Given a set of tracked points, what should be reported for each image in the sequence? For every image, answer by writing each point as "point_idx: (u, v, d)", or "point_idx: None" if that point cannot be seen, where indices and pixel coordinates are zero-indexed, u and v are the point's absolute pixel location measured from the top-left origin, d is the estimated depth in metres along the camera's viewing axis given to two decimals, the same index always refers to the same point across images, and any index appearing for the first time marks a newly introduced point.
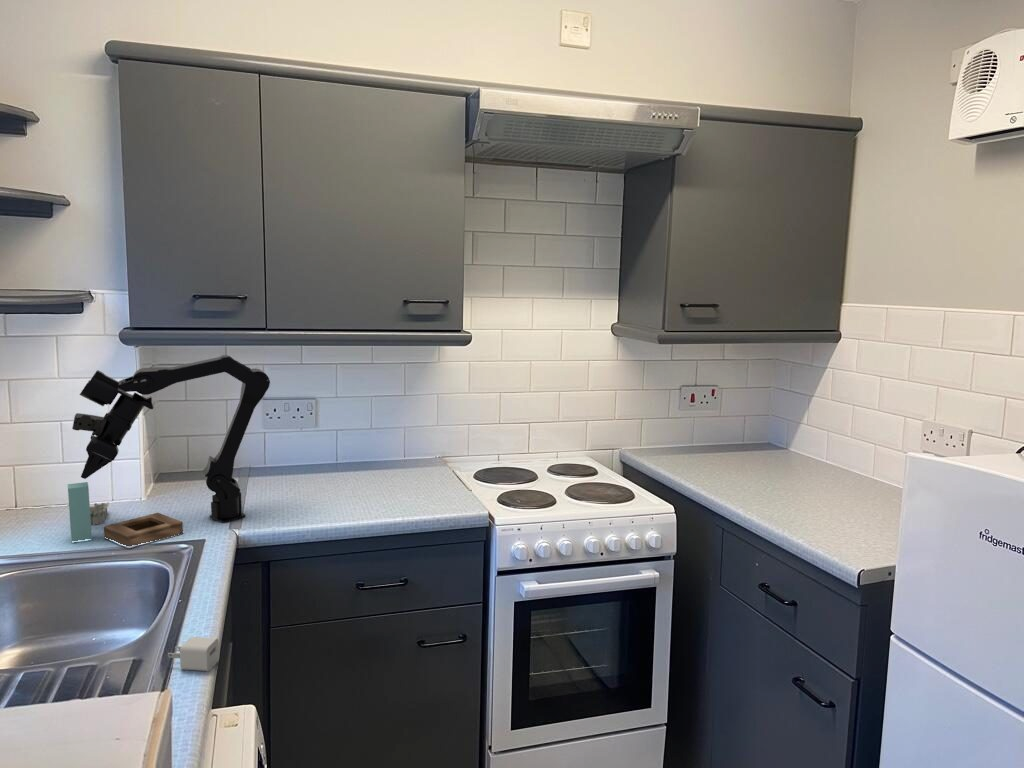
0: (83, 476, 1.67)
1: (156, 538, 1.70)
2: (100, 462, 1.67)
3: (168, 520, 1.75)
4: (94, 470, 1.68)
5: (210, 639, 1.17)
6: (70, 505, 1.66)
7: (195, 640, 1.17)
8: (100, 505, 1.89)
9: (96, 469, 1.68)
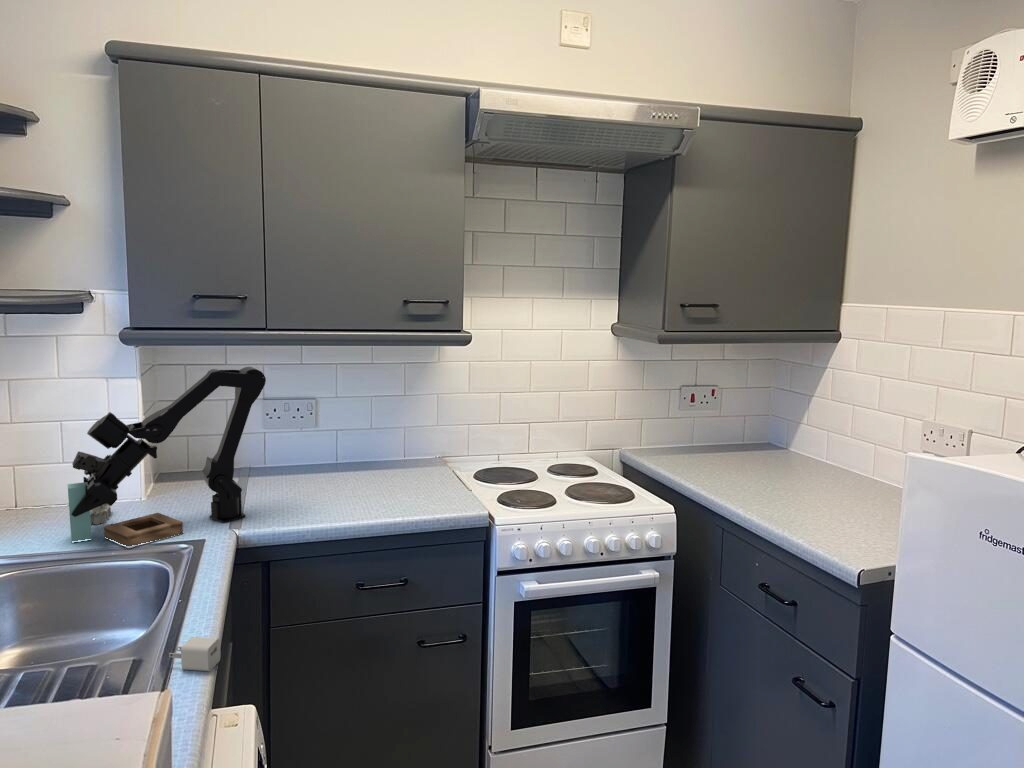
0: (74, 514, 1.66)
1: (156, 538, 1.70)
2: (95, 502, 1.67)
3: (168, 520, 1.75)
4: (87, 509, 1.67)
5: (211, 639, 1.17)
6: (70, 505, 1.66)
7: (196, 640, 1.17)
8: (104, 505, 1.89)
9: (89, 509, 1.67)
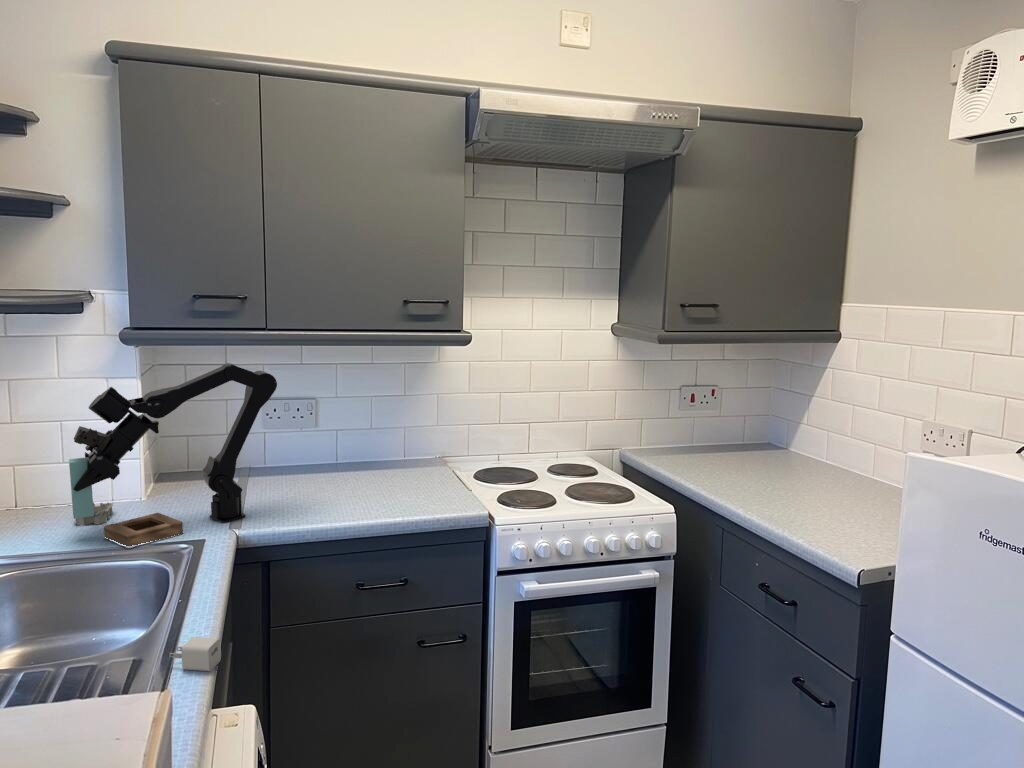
0: (76, 488, 1.66)
1: (156, 538, 1.70)
2: (97, 477, 1.67)
3: (168, 520, 1.75)
4: (89, 484, 1.66)
5: (212, 639, 1.17)
6: (72, 479, 1.65)
7: (197, 640, 1.17)
8: (106, 505, 1.89)
9: (91, 483, 1.66)
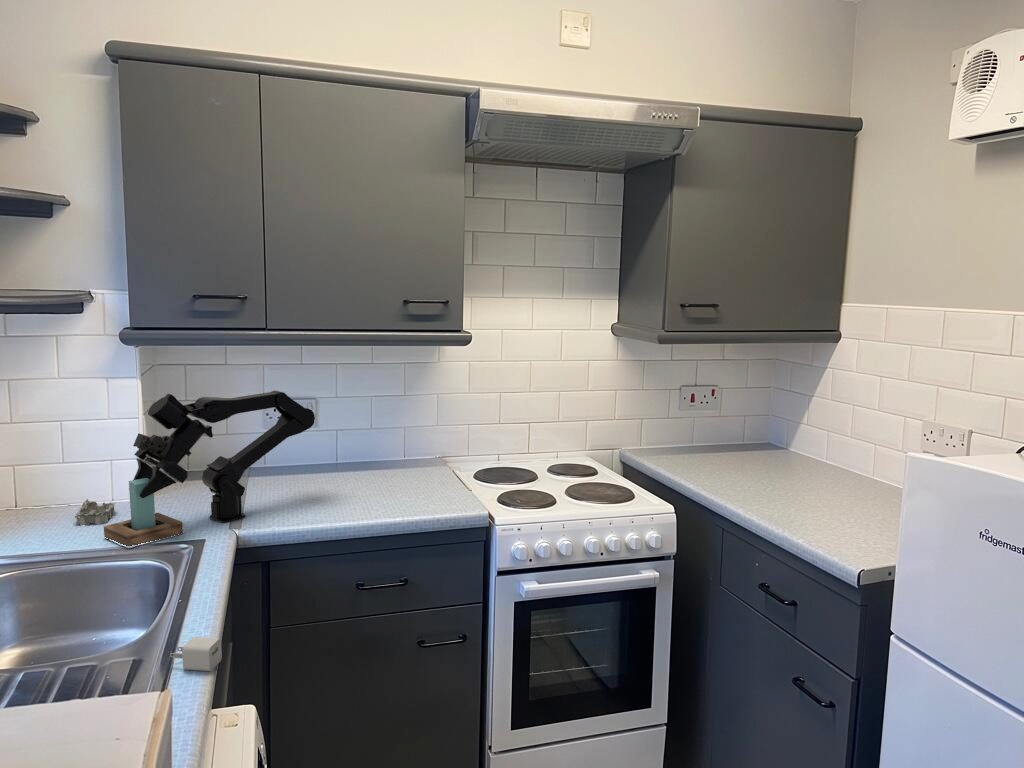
0: (142, 495, 1.68)
1: (156, 538, 1.70)
2: (163, 483, 1.70)
3: (168, 520, 1.75)
4: (154, 490, 1.69)
5: (213, 639, 1.17)
6: (137, 500, 1.69)
7: (197, 640, 1.17)
8: (108, 504, 1.90)
9: (157, 489, 1.69)
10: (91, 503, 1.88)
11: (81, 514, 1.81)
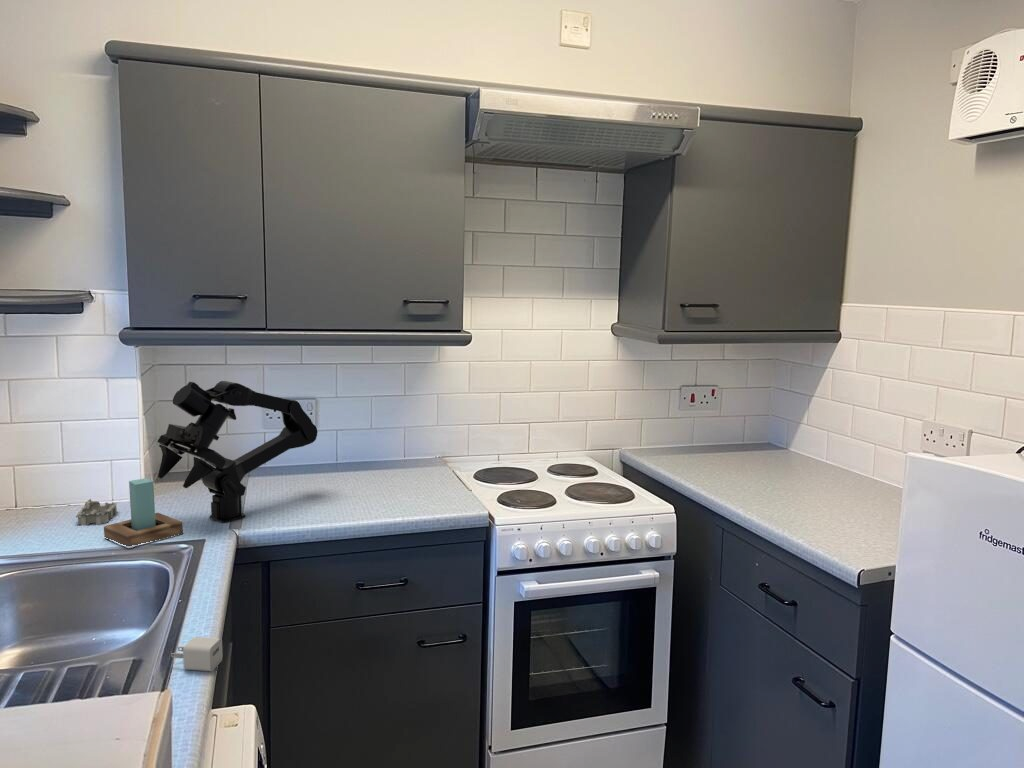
0: (186, 486, 1.72)
1: (156, 538, 1.70)
2: (204, 471, 1.74)
3: (168, 520, 1.75)
4: (197, 479, 1.74)
5: (214, 639, 1.17)
6: (137, 500, 1.69)
7: (198, 640, 1.17)
8: (111, 504, 1.90)
9: (199, 478, 1.74)
10: (94, 503, 1.88)
11: (82, 514, 1.82)
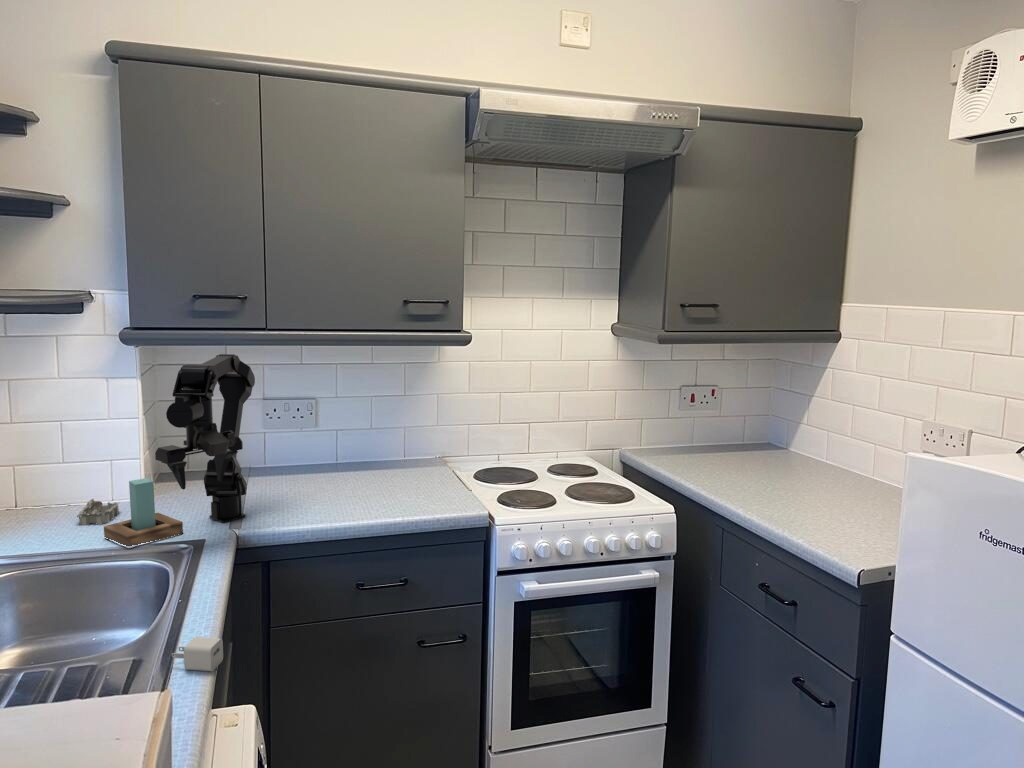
0: None
1: (156, 538, 1.70)
2: None
3: (168, 520, 1.75)
4: None
5: (214, 639, 1.17)
6: (137, 500, 1.69)
7: (199, 640, 1.17)
8: (113, 504, 1.90)
9: None
10: (96, 503, 1.89)
11: (84, 513, 1.82)
